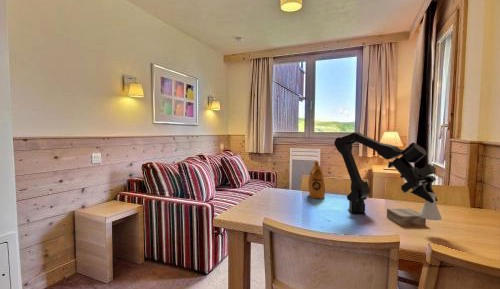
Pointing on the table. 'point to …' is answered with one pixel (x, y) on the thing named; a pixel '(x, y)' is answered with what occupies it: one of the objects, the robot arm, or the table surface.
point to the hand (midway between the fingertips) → (434, 201)
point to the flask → (430, 209)
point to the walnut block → (405, 217)
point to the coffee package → (316, 182)
